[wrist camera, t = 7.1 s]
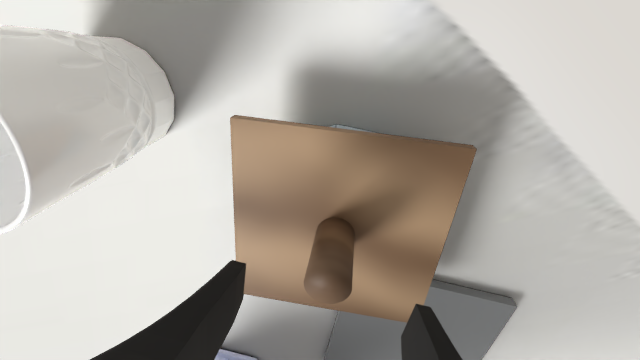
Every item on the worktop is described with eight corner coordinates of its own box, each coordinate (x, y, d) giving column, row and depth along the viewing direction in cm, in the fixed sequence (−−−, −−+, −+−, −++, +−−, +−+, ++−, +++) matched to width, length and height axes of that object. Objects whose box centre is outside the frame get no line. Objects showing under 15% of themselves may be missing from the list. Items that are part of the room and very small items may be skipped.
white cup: (198, 65, 18) (31, 91, 9) (170, 171, 21) (29, 266, 12) (72, 0, 17) (-245, -43, 8) (64, 120, 21) (-165, 181, 12)
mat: (451, 390, 27) (454, 400, 27) (323, 358, 28) (322, 367, 27) (512, 298, 22) (517, 306, 21) (353, 261, 22) (352, 268, 22)
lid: (415, 316, 20) (429, 390, 16) (240, 286, 21) (209, 347, 17) (472, 145, 14) (515, 187, 10) (234, 114, 15) (187, 142, 11)
